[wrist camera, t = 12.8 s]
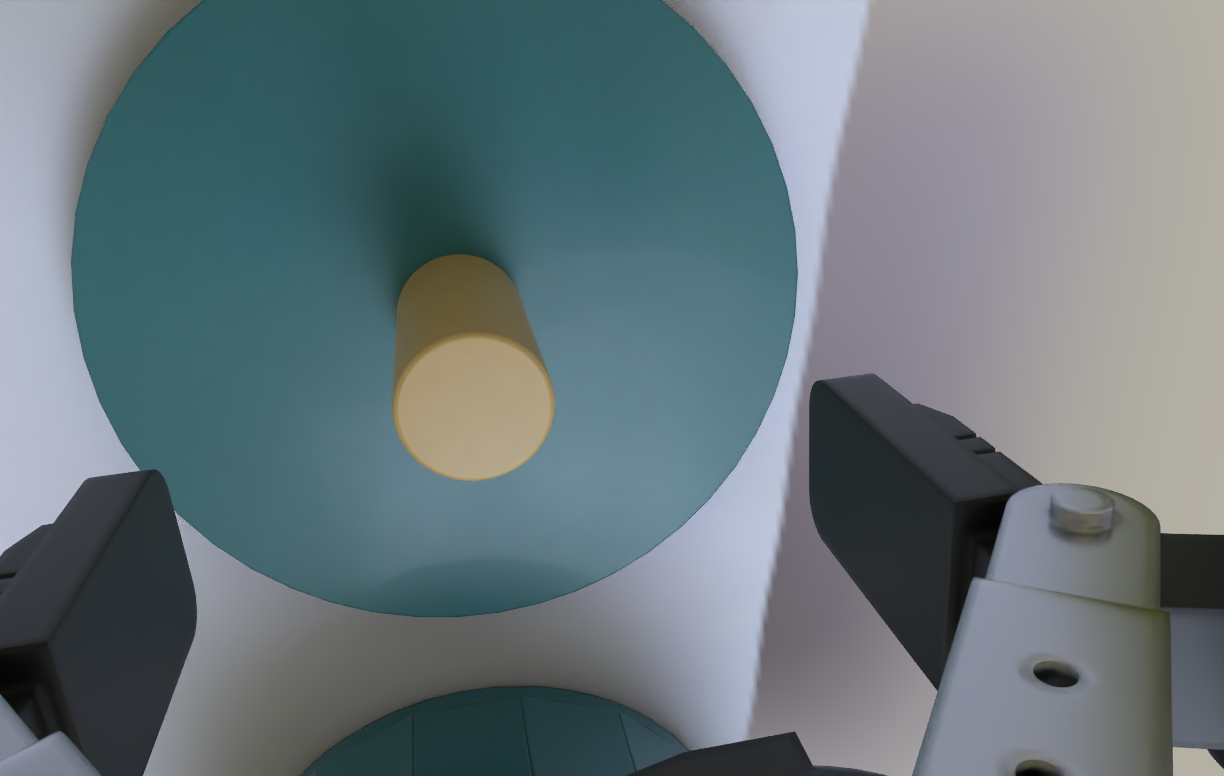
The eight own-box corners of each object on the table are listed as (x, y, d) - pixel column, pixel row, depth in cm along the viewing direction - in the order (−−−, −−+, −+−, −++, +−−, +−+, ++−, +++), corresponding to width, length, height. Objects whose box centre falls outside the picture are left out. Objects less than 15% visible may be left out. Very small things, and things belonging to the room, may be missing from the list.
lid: (182, 634, 22) (101, 855, 16) (-4, -48, 17) (-219, -77, 11) (779, 538, 24) (895, 704, 18) (777, -95, 19) (936, -139, 13)
